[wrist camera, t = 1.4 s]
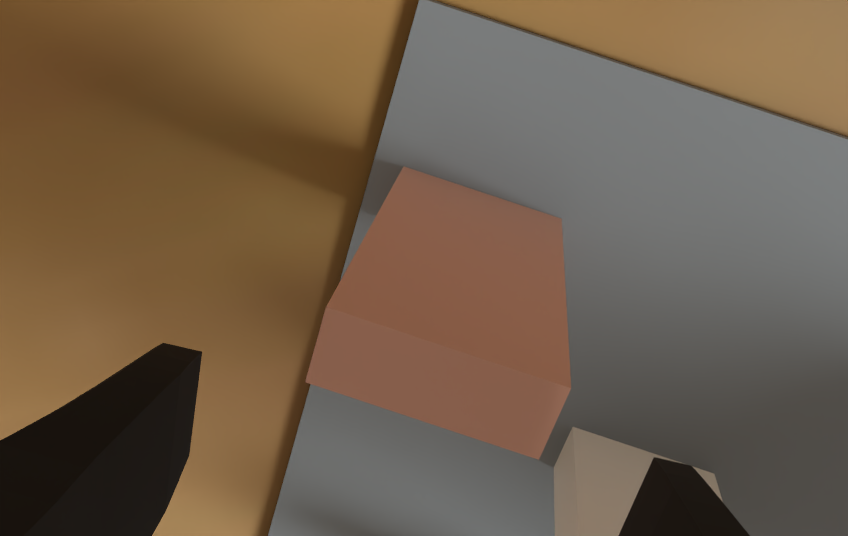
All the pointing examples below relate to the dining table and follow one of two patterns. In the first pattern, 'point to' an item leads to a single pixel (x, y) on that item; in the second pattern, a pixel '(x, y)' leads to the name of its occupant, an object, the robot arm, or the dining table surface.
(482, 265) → the tile
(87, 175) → the dining table surface
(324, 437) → the mat
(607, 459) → the beige rectangular block
